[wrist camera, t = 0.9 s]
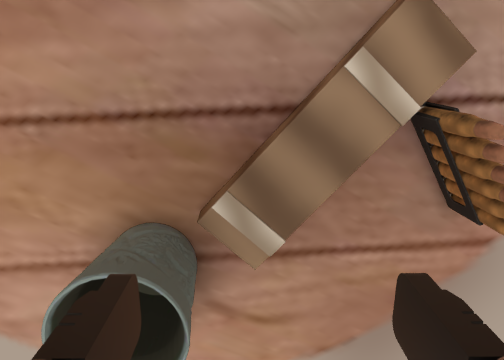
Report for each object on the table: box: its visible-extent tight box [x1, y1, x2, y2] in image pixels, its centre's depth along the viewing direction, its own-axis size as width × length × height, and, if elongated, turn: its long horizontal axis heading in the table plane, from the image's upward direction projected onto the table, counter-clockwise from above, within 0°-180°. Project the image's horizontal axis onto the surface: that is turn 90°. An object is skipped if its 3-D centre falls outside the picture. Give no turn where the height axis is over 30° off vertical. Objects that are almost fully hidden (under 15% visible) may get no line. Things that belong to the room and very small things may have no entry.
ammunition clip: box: [411, 102, 504, 235], centre depth 29 cm, size 11×2×12 cm, turn 29°
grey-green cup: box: [41, 223, 197, 360], centre depth 32 cm, size 10×10×12 cm
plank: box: [197, 0, 476, 270], centre depth 33 cm, size 26×7×3 cm, turn 137°
